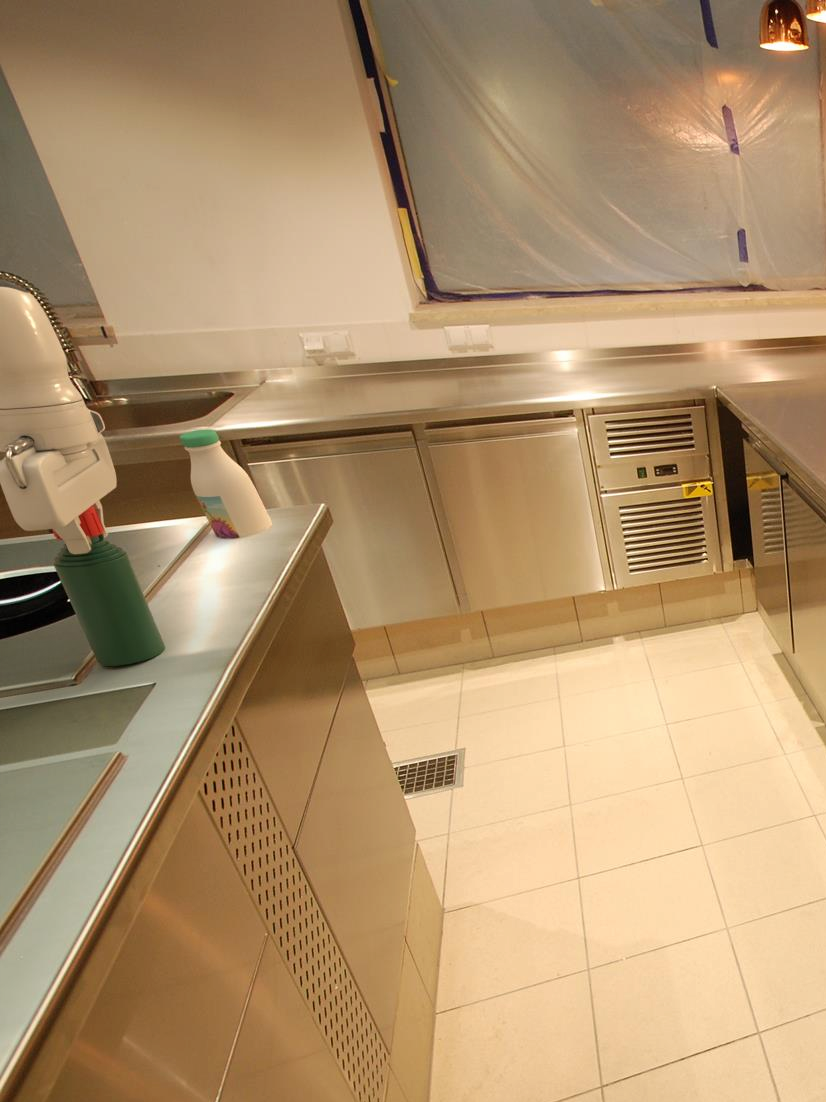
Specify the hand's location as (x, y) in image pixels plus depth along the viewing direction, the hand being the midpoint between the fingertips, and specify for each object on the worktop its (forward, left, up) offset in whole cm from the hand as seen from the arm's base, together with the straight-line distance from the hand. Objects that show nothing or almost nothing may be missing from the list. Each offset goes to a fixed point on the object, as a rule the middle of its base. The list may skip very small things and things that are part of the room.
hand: (90, 545), depth 101 cm
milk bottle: (+6, +42, -14) cm, 45 cm away
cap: (0, 0, +1) cm, 1 cm away
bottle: (-1, 0, -14) cm, 15 cm away
